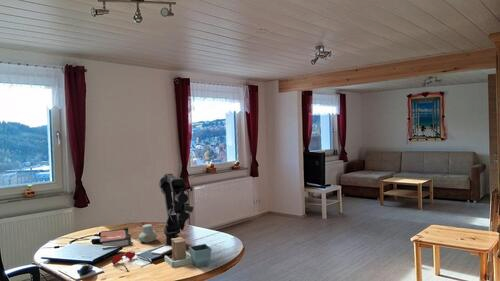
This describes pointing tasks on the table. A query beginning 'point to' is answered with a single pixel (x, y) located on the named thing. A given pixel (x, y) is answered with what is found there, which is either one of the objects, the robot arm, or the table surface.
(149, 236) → the air freshener
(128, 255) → the glasses
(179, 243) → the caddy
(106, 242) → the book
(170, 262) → the bay
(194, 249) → the flower pot
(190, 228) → the table surface
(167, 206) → the robot arm
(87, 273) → the table surface
